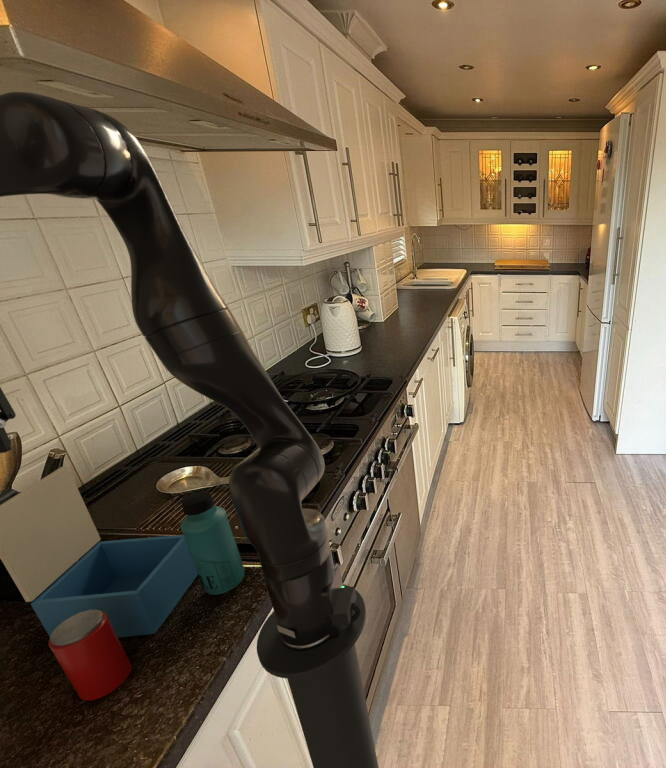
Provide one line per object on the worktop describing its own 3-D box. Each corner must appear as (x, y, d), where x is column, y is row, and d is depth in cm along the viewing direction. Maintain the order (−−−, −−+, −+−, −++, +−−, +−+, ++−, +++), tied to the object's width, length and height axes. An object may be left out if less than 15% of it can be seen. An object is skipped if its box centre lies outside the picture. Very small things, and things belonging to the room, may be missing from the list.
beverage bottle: (254, 570, 77) (227, 482, 70) (238, 600, 71) (207, 507, 64) (216, 575, 76) (185, 486, 69) (197, 605, 70) (161, 511, 63)
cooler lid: (67, 466, 67) (24, 468, 66) (-17, 518, 55) (-70, 522, 54) (101, 539, 72) (62, 542, 71) (32, 601, 60) (-16, 606, 60)
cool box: (201, 570, 77) (188, 534, 74) (155, 633, 65) (137, 593, 62) (116, 578, 76) (99, 541, 72) (53, 644, 64) (30, 604, 60)
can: (141, 658, 62) (115, 605, 58) (112, 697, 57) (82, 642, 53) (99, 663, 61) (71, 609, 57) (67, 703, 56) (33, 648, 52)
